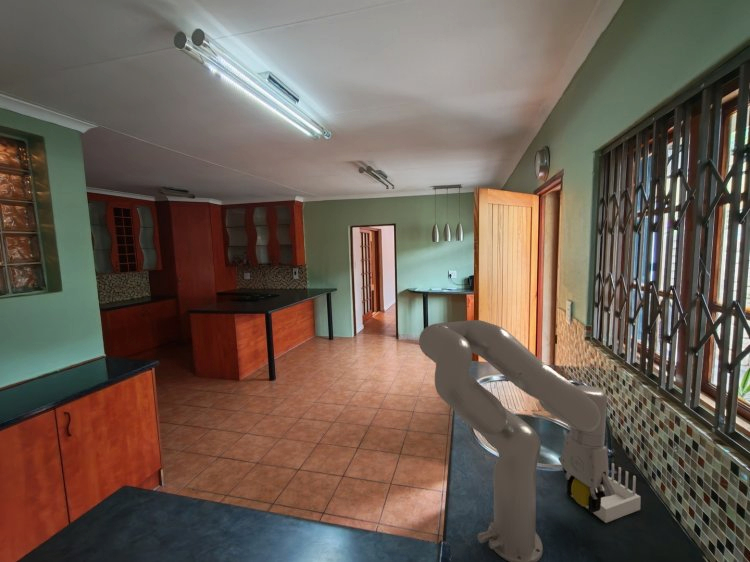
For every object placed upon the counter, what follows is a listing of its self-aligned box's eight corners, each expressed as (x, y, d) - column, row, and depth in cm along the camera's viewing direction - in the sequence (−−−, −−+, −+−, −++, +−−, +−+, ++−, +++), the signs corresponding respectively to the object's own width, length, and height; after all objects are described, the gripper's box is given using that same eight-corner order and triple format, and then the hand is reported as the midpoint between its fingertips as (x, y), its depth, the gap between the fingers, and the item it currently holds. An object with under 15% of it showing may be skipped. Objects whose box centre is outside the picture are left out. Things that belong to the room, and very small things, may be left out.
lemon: (599, 515, 84) (601, 485, 83) (574, 511, 85) (576, 481, 85) (589, 500, 89) (591, 471, 89) (567, 496, 90) (568, 468, 90)
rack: (605, 522, 88) (606, 491, 87) (569, 494, 98) (570, 466, 98) (640, 509, 92) (641, 479, 91) (602, 484, 103) (602, 456, 102)
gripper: (548, 421, 93) (545, 483, 94) (608, 456, 77) (604, 531, 78) (569, 418, 95) (565, 478, 96) (631, 451, 79) (626, 523, 80)
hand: (582, 501), depth 87 cm, fingers closed on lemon, 5 cm apart
